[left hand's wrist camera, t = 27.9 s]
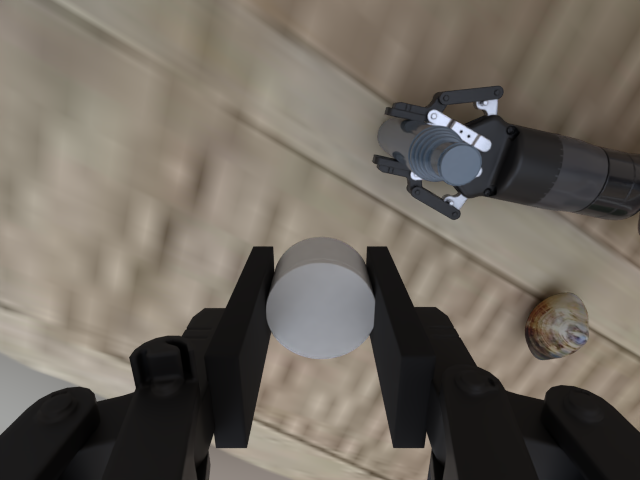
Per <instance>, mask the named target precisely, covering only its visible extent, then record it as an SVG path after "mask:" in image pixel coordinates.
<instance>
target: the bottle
mask: <svg viewBox="0 0 640 480" xmlns="http://www.w3.org/2000/svg"><path fill="white" fill-rule="evenodd" d="M378 143H379V145H380V147H381V148H382V149H383V150H384V151H385V152H387V153H388V154H389V155H391V156H392V157H393V158H395V159H396V160H397V161H398V162H400V163H401V164H402V165H404V166H405V167H406V168H408V169H409V170H410V171H411V172H413V173H414V174H415V175H417V176H418V177H419V178H421V179H423V180H427V181H432V182H438V181H444V182H446V183H447V184H449V185H452V186H461V185H465V184H467V183H470V182H471V181H472V180H473V179H475V177H476V176H477V175H478V173H479V171H480V169H481V165H482V157H481V155H480V152H479V151H478V149H477V148H476V147H474V146H473V145H472V146H471V145H470V144H467V143H464V142H463V140H462V139H461V137H460V136H459V135H458V134H457V133H456V132H455V131H454V130H452V129H451V128H448V127H446V126H441V125H436V124H430V123H425V122H419V121H413V120H408V119H403V118H391V119H388V120H387V121H385V122H384V123H383V124H382V125H381V127H380V128H379V131H378Z"/></svg>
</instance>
